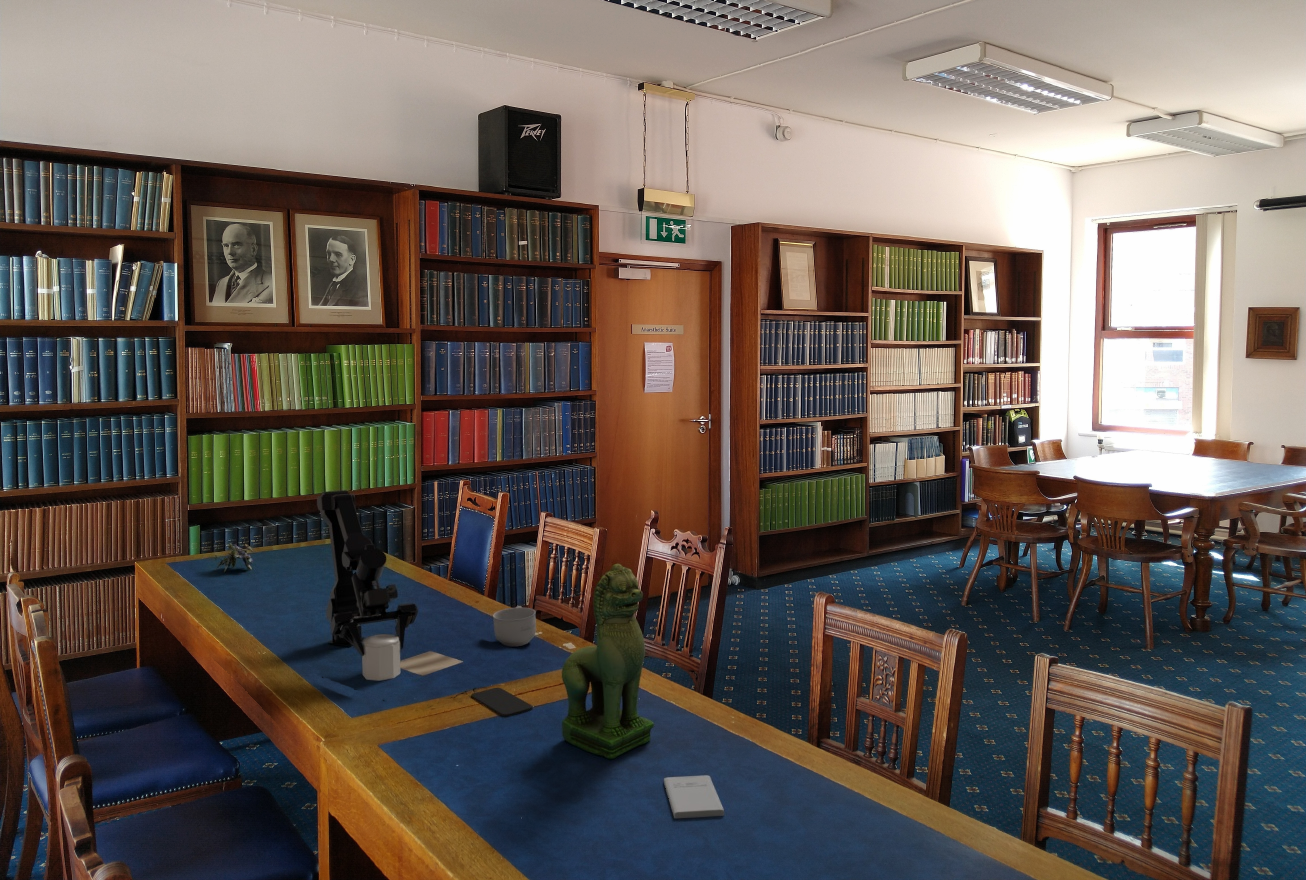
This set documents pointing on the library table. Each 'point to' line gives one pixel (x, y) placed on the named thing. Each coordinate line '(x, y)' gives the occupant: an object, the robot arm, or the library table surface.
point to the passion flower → (235, 554)
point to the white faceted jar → (381, 657)
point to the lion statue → (608, 673)
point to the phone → (502, 702)
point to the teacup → (515, 626)
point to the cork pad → (427, 663)
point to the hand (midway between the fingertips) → (382, 651)
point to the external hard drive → (693, 797)
